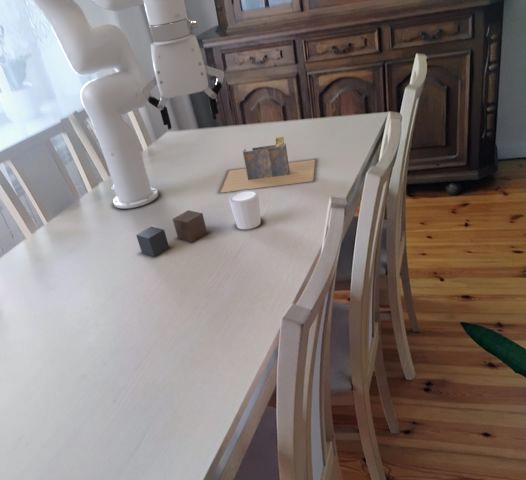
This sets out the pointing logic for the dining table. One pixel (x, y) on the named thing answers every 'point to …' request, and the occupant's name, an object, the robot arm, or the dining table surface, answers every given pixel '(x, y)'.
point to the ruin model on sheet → (268, 169)
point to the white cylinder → (246, 209)
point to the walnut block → (190, 226)
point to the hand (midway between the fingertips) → (192, 122)
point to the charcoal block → (152, 241)
